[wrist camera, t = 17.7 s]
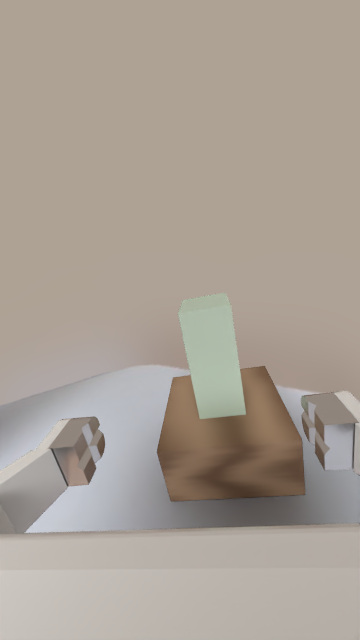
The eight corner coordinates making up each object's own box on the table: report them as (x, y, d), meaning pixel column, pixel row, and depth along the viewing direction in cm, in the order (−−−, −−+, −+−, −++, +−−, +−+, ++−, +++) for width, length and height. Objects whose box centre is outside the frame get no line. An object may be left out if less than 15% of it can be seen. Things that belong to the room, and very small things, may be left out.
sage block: (199, 419, 23) (177, 313, 20) (200, 389, 28) (182, 300, 25) (246, 414, 23) (230, 304, 20) (238, 385, 28) (225, 292, 24)
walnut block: (170, 501, 22) (156, 451, 21) (181, 414, 34) (173, 377, 32) (305, 494, 21) (302, 439, 19) (268, 405, 32) (264, 365, 30)
